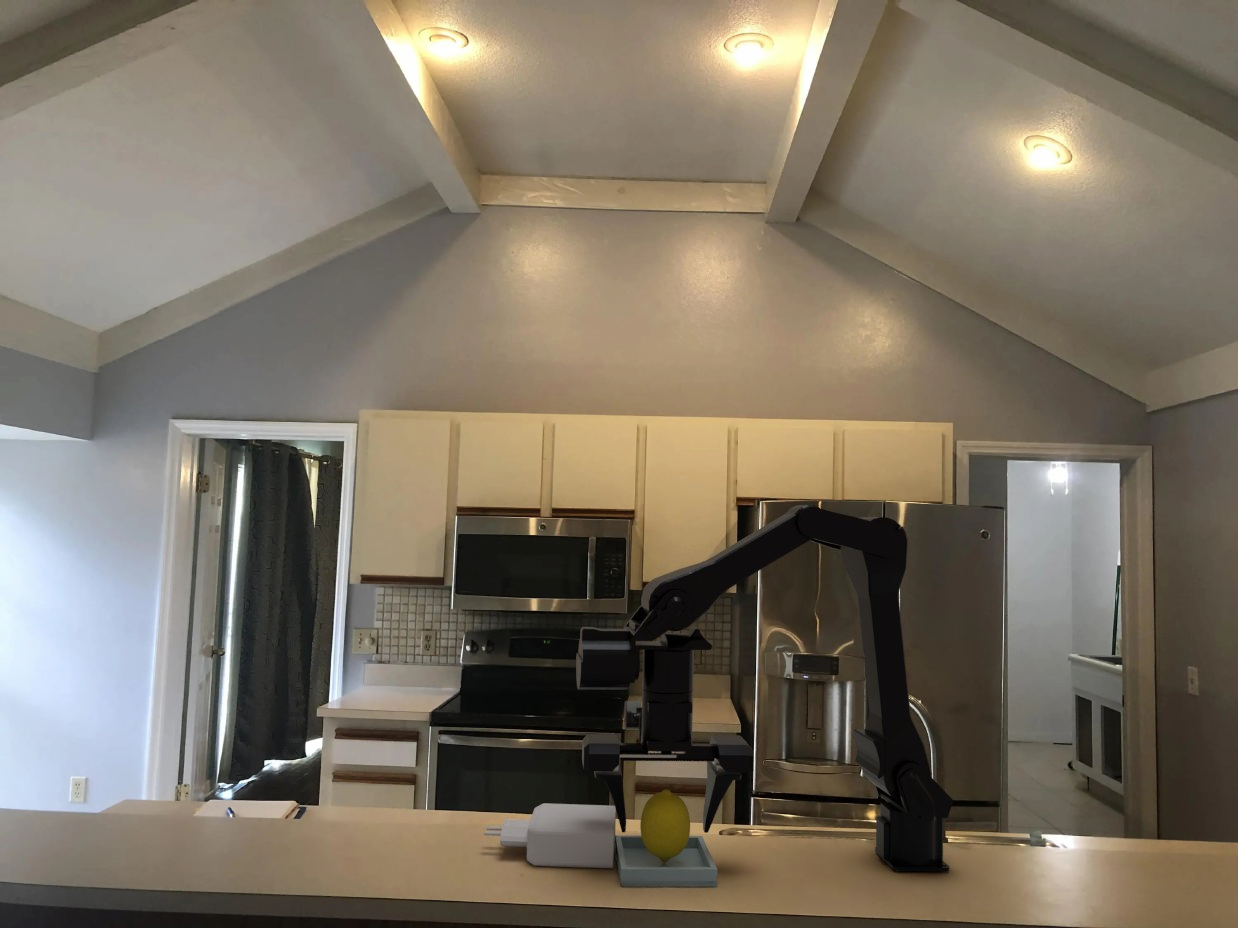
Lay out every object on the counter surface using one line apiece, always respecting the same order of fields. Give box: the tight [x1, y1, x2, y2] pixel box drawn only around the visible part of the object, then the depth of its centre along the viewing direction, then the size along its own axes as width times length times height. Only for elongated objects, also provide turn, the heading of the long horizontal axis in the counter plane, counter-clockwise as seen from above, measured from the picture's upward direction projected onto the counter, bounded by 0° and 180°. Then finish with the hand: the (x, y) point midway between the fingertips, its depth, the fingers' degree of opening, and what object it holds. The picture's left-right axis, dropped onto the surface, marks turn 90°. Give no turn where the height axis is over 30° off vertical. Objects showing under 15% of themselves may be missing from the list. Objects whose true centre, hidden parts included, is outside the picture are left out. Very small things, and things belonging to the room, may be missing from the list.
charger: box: [483, 803, 617, 870], centre depth 103 cm, size 5×9×15 cm
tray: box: [614, 834, 718, 888], centre depth 99 cm, size 10×10×2 cm
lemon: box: [639, 788, 691, 862], centre depth 99 cm, size 6×6×8 cm
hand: (664, 831), depth 100 cm, fingers open, 9 cm apart
